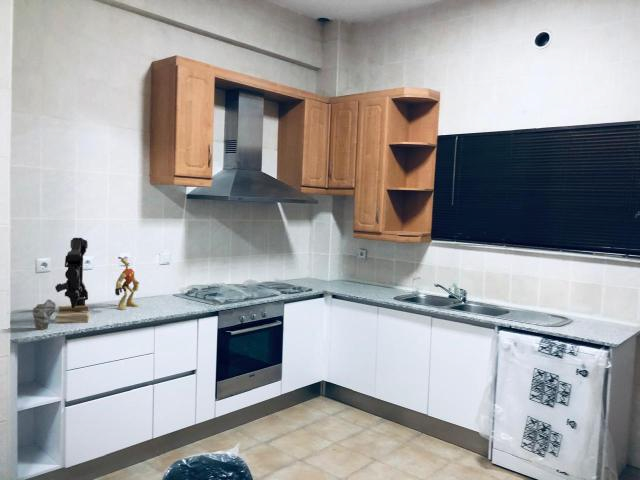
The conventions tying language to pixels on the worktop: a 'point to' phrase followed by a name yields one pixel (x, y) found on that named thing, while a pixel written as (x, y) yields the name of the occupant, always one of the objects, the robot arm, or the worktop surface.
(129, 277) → the toy
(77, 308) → the flap
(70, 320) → the plywood box
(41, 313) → the rock
